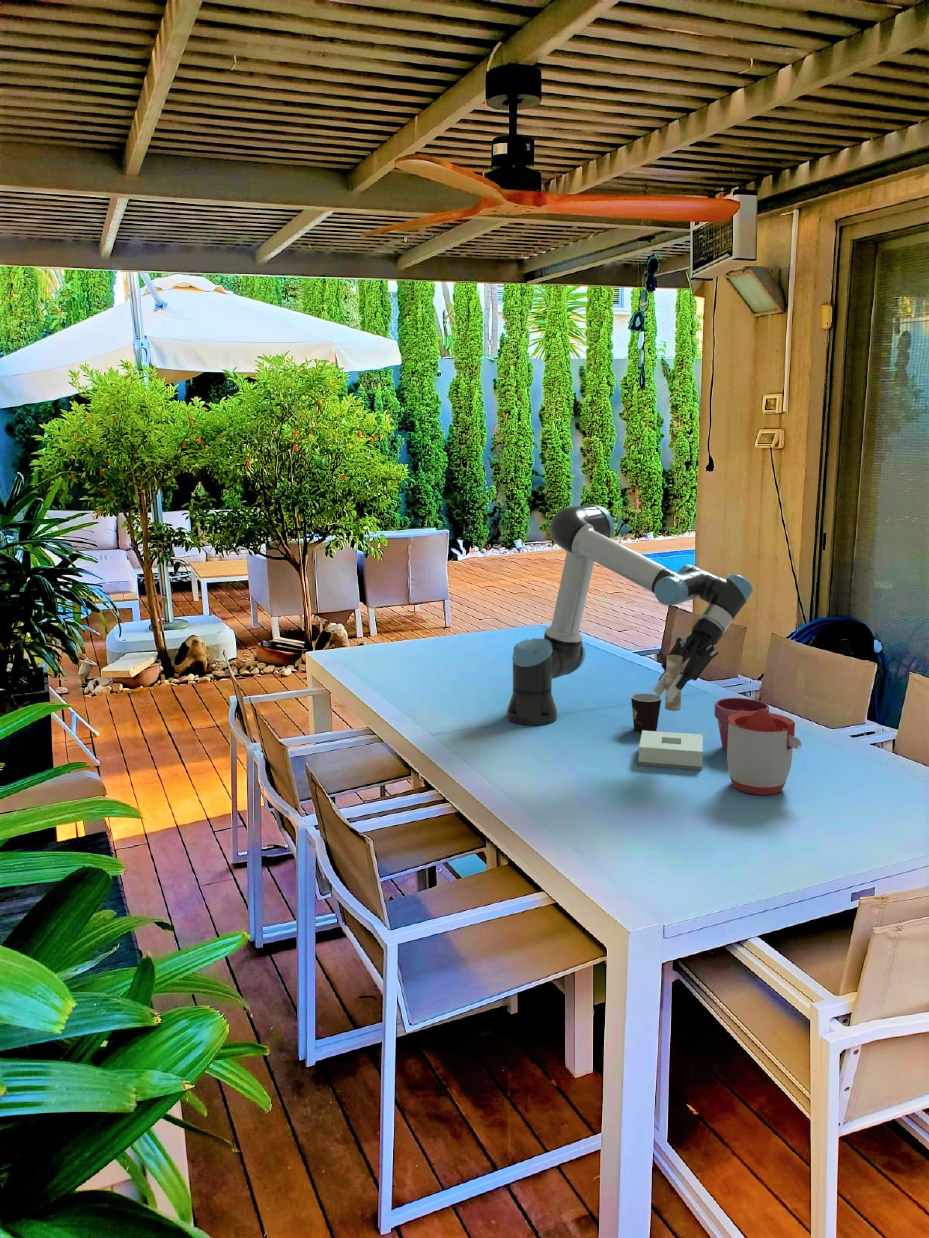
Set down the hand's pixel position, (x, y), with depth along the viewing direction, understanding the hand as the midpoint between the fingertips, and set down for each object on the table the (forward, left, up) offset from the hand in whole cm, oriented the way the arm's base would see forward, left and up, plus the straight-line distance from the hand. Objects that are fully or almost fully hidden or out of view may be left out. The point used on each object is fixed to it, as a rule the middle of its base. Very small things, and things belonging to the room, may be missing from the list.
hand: (662, 695), depth 246 cm
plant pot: (+21, +15, -18) cm, 31 cm away
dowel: (+3, +3, -4) cm, 6 cm away
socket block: (+3, +3, -18) cm, 18 cm away
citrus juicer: (+25, -13, -18) cm, 33 cm away
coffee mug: (-5, +27, -18) cm, 33 cm away
